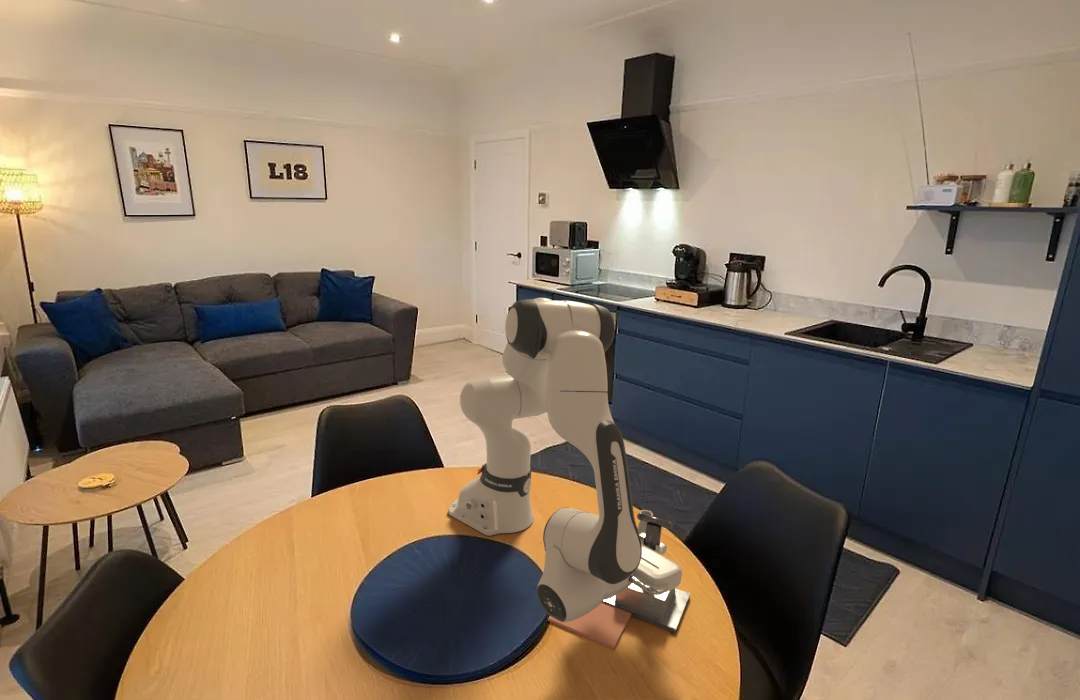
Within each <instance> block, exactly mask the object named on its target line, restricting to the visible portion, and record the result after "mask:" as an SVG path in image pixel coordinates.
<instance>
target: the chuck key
mask: <svg viewBox="0 0 1080 700" xmlns="http://www.w3.org/2000/svg"><path fill="white" fill-rule="evenodd" d="M636 519H637V520H639V521H640V520H642V521H645V522H647V526H646V535H645V544H644V545H645V546H647V547H649V548H650V549H652V550H655V549H656V544H658V543H659V542H661V535H662V528H664V529H668V530H671V529H672V528H673V527H674V524H673V523H672V522H671V521H669V520H666V519H662V518H658V517H655V516H654V515H653V516H649V515H646V514H643V513H640V512H638V513H637V516H636Z"/></svg>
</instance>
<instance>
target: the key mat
mask: <svg viewBox="0 0 1080 700" xmlns="http://www.w3.org/2000/svg"><path fill="white" fill-rule="evenodd" d="M548 616H549V615H548ZM631 617H632V616H631V613H629V612H626V611H624V610H621V609H619V608H616V607H614V606H611V605H609V604H606V603H603V602H602V603H601V604H600V605H599V606H598V607H597V608H595V609H594V610H592V611H591V612H589V613H587V614H586V615H584V616H582V617H580V618H578V619H575V620H573V621H569V622H561V621H558V620H556V619H554V618H553V617H551V616H549V618H548V617H547V618H548V620H547V621H548V622H550V623H552V624H555V625H558V626H559V627H561V628H564V629H566V630H568V631H571V632H574V633H575V634H577V635H581V636H583V637H586V638H587V639H590V640H591V641H595V642H596V643H599V644H601V645H603V646H606V647H608V648H610V649H613V650H614V649H615V647H616V646H617V644H618V643H619V640H620V638H621V636H622V635H623V633H624V630H625V629H626V627H627V625H628V623H629V621H630V620H631Z"/></svg>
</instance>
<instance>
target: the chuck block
mask: <svg viewBox="0 0 1080 700" xmlns="http://www.w3.org/2000/svg"><path fill="white" fill-rule="evenodd" d="M690 596H691V593H690V592H688V591H685V590H681V589H679V588H677V587H676V588H674V589H672V590H670V591H668V592H665V593H663V594H661V595H654V594H649V593H646V592H645V591H644V590H643V589H641V588H639V587H637V586H636V585H634V584H633V583H632V584H631V585H630V586H629V587H628V588H626V589H625V590H623V591H621V592H620V593H618V594H617V595H615V596H614V597H612V598H610V599H606V600H603V601H602V602H603V603H606V604H609V605H611V606H614V607H616V608H619V609H621V610H624V611H626V612H629V613H631V617H632V618H635V619H638V620H641V621H643V622H646V623H648V624H651V625H653V626H656V627H658V628H660V629H663V630H665V631H668V632H671V633H674V634H676V632H677V630H678V628H679V625H680V623H681V621H682V618H683V615H684V613H685V611H686V607H687V605H688V602H689V600H690V598H691V597H690Z"/></svg>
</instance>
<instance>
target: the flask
mask: <svg viewBox="0 0 1080 700" xmlns="http://www.w3.org/2000/svg"><path fill="white" fill-rule="evenodd" d="M639 513H643V514H646V515H649V516H653V517H654V514H653V511H651V510H648V509H641V510H640V511H639ZM646 526H647V522H645V521H642V520H639V522H638V525H637V529H638V532H639V534H641V533H642V532H644V533H645V534H646Z"/></svg>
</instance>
